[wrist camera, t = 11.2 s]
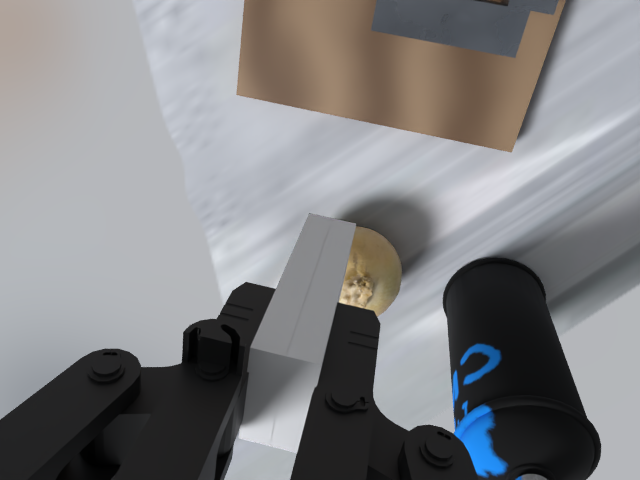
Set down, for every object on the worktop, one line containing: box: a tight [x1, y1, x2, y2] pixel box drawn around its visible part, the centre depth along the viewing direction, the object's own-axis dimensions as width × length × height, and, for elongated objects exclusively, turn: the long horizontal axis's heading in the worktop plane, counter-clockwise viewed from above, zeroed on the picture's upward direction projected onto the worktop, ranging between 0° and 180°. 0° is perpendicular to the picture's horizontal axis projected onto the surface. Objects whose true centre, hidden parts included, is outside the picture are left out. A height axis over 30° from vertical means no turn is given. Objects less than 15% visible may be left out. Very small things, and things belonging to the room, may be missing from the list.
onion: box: [339, 226, 402, 316], centre depth 42 cm, size 8×8×7 cm
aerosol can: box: [443, 258, 601, 480], centre depth 36 cm, size 8×8×20 cm
